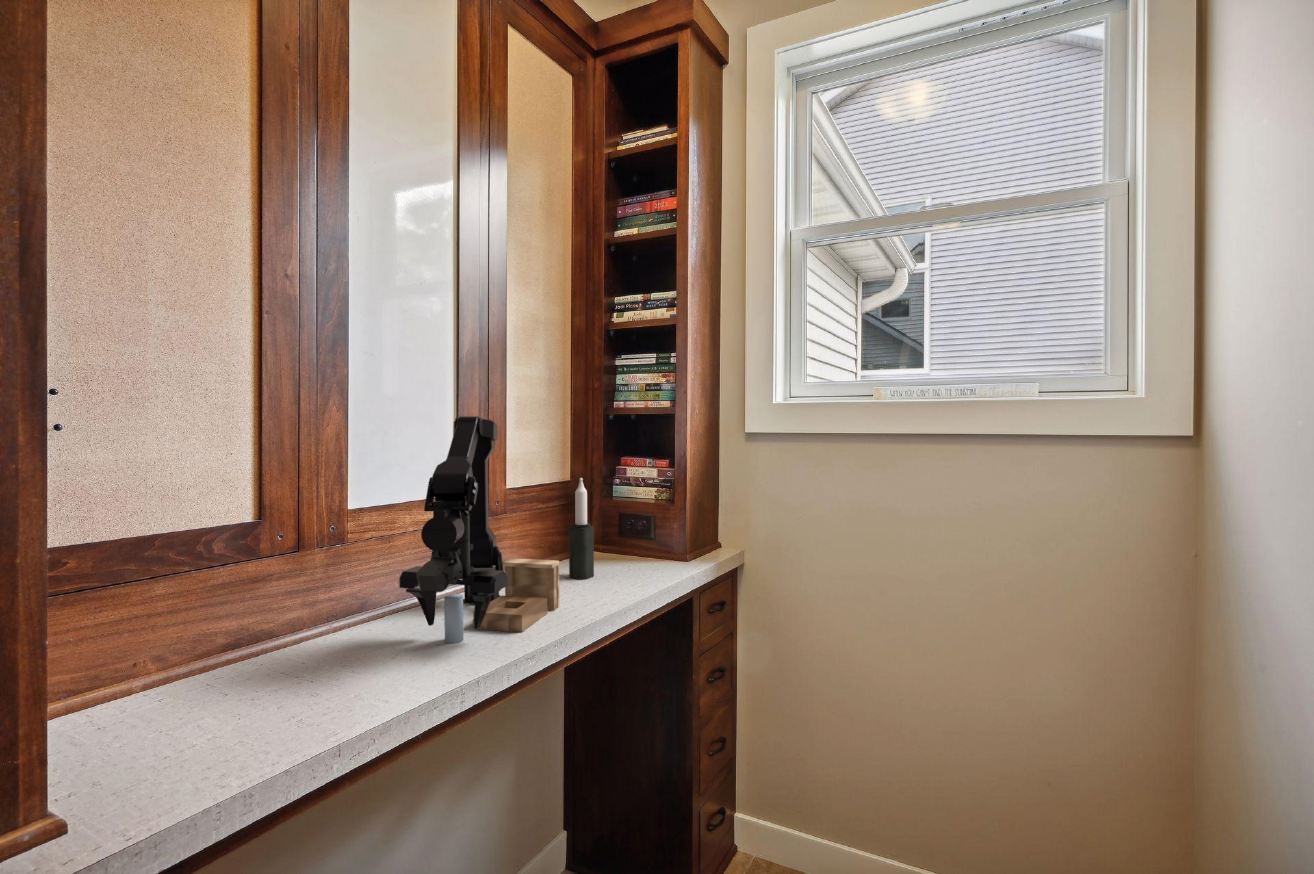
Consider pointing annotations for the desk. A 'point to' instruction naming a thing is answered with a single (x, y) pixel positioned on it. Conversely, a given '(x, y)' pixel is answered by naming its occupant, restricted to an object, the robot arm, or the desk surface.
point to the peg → (453, 618)
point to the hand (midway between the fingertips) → (454, 626)
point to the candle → (581, 539)
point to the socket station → (524, 595)
